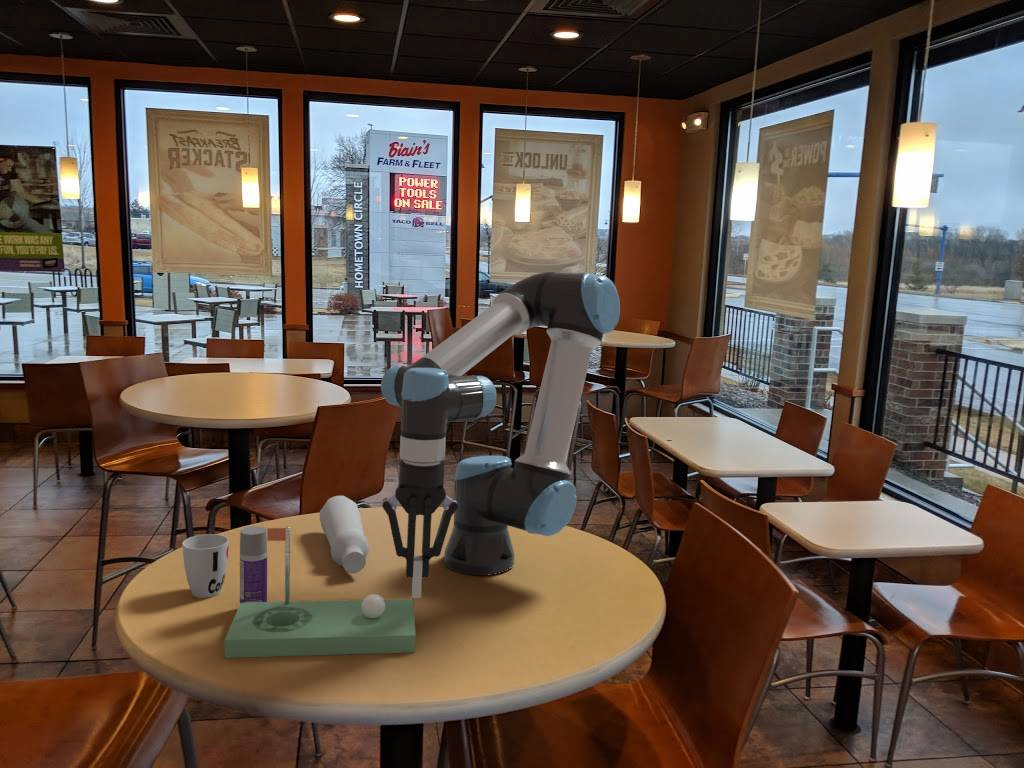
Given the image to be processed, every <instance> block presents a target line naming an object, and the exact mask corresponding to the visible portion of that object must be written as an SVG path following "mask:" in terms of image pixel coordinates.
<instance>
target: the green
mask: <svg viewBox="0 0 1024 768" xmlns="http://www.w3.org/2000/svg"><path fill="white" fill-rule="evenodd" d="M363 600H364V599H361V600H359V599H357V600H355V599H354V600H352V599H351V600H311V601H308V600H307V601H306V600H305V601H304V600H303V601H301V600H300V601H296V600H295V601H290V604H288V605H286V604H285V601H267V602H241V603H240V602H239V606H238V608H237V611H236V612H235V615H234V617H233V620H232V621H231V622H232V623H231V624H230V627H229V628H228V632H227V634H226V636H225V639H224V658H225V659H227V658H228V659H232V658H235V659H237V658H264V657H265V658H268V657H299V656H301V657H302V656H303V657H304V656H305V657H306V656H331V655H333V656H337V655H365V654H366V655H368V654H370V655H371V654H398V653H399V654H402V653H403V654H404V653H405V654H407V653H416V638H417V637H416V625H415V624H416V622H415V621H416V620H415V609H414V608H415V607H414V598H412V599H410V598H409V599H384V602H385V610H384V612H383V614H382V615H381V616H379V617H377V618H368V617H367V616H365V615H364V613H363V612H362V602H363Z"/></svg>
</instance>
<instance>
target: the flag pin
mask: <svg viewBox="0 0 1024 768" xmlns="http://www.w3.org/2000/svg"><path fill="white" fill-rule="evenodd" d="M266 530H267V542H272V541H273V542H285V543H284V544H285V547H284V550H285V551H284V552H285V553H284V556H285V557H284V559H285V560H284V561H285V562H284V563H285V564H284V602H285V604H286V605H288V604H290V602H291V600H290V599H291V598H290V597H291V593H290V592H291V526H290V525H287V526H285V527H267V528H266Z"/></svg>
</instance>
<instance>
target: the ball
mask: <svg viewBox="0 0 1024 768" xmlns="http://www.w3.org/2000/svg"><path fill="white" fill-rule="evenodd" d="M362 600H363V602H362V612H363V613H364V615H365V616H367V617H368V618H377V617H379V616H381V615H382V614H383V612H384V610H385V602H384V600H385V598H383V597H382V596H381V595H379V594H376V593H372V594H369V595H367V596H365V597H364V598H363V599H362Z"/></svg>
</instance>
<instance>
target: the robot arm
mask: <svg viewBox="0 0 1024 768" xmlns="http://www.w3.org/2000/svg"><path fill="white" fill-rule="evenodd" d="M620 303H621V302H620V296H619V293H618V290H617V287H616V286H615V284H614V282H613V280H611V279H610V278H608V277H606V276H605V275H599V274H592V273H588V272H587V273H570V272H569V273H568V272H554V271H545V272H539V273H536V274H533V275H530V276H527V277H526V278H524V279H522V280H520V281H517V282H516V283H514V284H512V285H511V286H508V287H507V288H505V289H504V290H502V292H500V293H499V294H497V295H496V296H495V297H494V298H493V300H492V303H491V304H492V305H490V306H489V307H488V308H486V309H485V310H484V311H483V312H481V313H479V314H478V315H477V316H476V317H474V318H473V319H472V320H470V321H469V322H468V323H465V325H463V326H462V327H461V328H460V329H458V330H457V331H456V332H454V333H453V334H451V335H450V336H448V337H447V338H446V339H445V340H443V341H442V342H441V343H439V344H438V345H436V346H435V347H434V348H432V349H431V350H430V351H428V352H427V353H425V354H424V355H423V356H421V357H420V358H419V359H418V360H416V361H415V362H413V363H412V364H411V365H409V366H406V365H394V366H392V367H389V369H387V370H386V371H385V373H384V374H383V376H382V378H381V382H380V391H381V395H382V398H384V400H385V401H386V402H387V403H388V404H390V405H394V406H396V407H400V408H401V411H400V412H401V413H400V415H401V418H400V419H401V420H400V421H401V422H400V423H401V424H400V439H399V441H400V442H399V443H400V444H399V458H400V459H401V460H400V461H399V468H398V485H397V488H396V489H395V491H394V494H393V495H391V496H390V497H388V498H387V497H385V498H383V499H382V509H383V510H384V512H385V513H386V515H387V516H388V521H389V526H390V529H391V536H392V539H393V544H394V549H395V554H396V556H397V557H399V558H400V557H402V558H404V559H405V560H406V563H405V576H406V578H411V579H412V580H411V598H412V599H418V598H419V599H420V598H421V599H422V582H423V578H428V577H429V573H430V560H431V559H432V558H434V557H439V556H441V552H442V549H443V545H444V542H445V539H446V536H447V533H448V528H449V526H450V522H451V520H452V519H451V518H452V517H453V527H452V530H451V533H450V536H449V538H448V540H447V543H446V546H445V548H444V553H443V554H444V556H443V559H444V560H443V563H444V565H445V566H446V567H447V568H449V569H451V570H452V571H454V572H456V573H461V574H466V575H471V576H489V575H488V574H494V575H496V574H495V573H499V572H502V571H505V570H507V569H509V568H510V567H512V566H513V564H514V565H515V555H516V554H515V551H514V547H513V543H512V539H511V536H510V533H509V527H512V528H515V529H518V530H522V531H526V532H527V533H529V534H533V535H540V536H543V537H552V536H554V535H556V534H558V533H559V532H560V533H561V531H562V530H563V529H564V528H565V527H566V526H567V525H568V524H569V523H570V520H571V519H572V517H573V514H574V512H575V509H576V506H577V499H578V496H577V489H576V487H575V485H574V484H573V483H572V482H571V481H570V479H571V474H572V472H571V470H570V469H569V467H568V466H567V459H568V455H569V451H570V447H571V441H572V437H573V435H574V434H573V433H574V429H575V425H576V420H577V416H578V411H579V407H580V403H581V399H582V395H583V391H584V386H585V381H586V378H587V373H588V369H589V365H590V361H591V356H592V353H593V350H594V349H596V348H597V347H599V346H600V345H601V344H602V341H603V337H604V334H605V335H606V334H607V335H608V334H609V333H611V332H613V331H614V330H615V328H616V327H617V326H618V322H619V320H620V313H621V305H620ZM535 327H546V334H547V335H548V337H549V338H550V341H551V343H550V346H549V350H548V355H547V358H546V362H545V367H544V371H543V375H542V380H541V384H540V388H539V393H538V396H537V401H536V404H535V405H536V406H535V407H534V414H533V417H532V422H531V425H530V429H529V435H528V438H527V442H526V446H525V450H524V453H523V454H522V455H520V456H519V457H518V458H516V459H515V460H514V465H513V463H512V460H511V458H509V457H508V456H504V455H481V456H480V455H479V456H472V457H467V458H464V459H462V460H461V461H459V462H458V463H457V465H456V468H455V478H454V497H453V498H451V497H450V496H448V495H447V493H446V490H445V488H444V481H445V478H444V477H445V463H444V462H443V460H445V458H446V439H447V438H446V437H447V436H446V435H447V423H453V422H459V421H465V420H466V421H467V420H476V419H479V418H482V417H486V416H488V415H489V414H490V413H492V412H493V410H494V409H495V407H496V404H497V389H496V387H495V385H494V383H493V382H492V381H491V379H489V378H488V377H486V376H484V375H468V376H463V375H464V374H466V373H467V372H468V371H470V369H472V368H473V367H475V366H476V365H477V364H478V363H480V362H481V361H482V360H483V359H485V358H486V357H487V356H488V355H489V354H491V353H492V352H494V351H495V350H496V349H497V348H498V347H500V346H501V345H503V343H505V342H506V341H507V340H508V339H510V338H511V337H512V336H514V335H521V334H524V333H525V332H526V331H527V330H528V329H529V330H530V329H531V328H535ZM512 465H513V467H512ZM397 503H399V504H400V505H401V507H402V508H403V510H404V511H405V513H406V514H407V536H406V537H407V538H406V547H405V546H404V545H403V544H404V543H403V540H402V535H401V531H400V525H399V521H398V516H397V512H396V510H397V508H398V504H397ZM441 504H442V508H443V511H442V515H441V518H440V522H439V525H438V529H437V532H436V534H435V538H434V541H433V545H432V547H431V535H432V533H431V532H432V517H433V516H432V515H433V514H434V513H435V512H436V511H437V509H439V507H440V506H441ZM419 515H421V516H422V519H423V521H422V539H421V541H422V543H421V555H415V549H416V547H415V546H416V545H415V544H416V527H417V526H416V524H417V516H419ZM513 567H514V566H513ZM513 567H512V568H513ZM499 574H500V573H499Z"/></svg>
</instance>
